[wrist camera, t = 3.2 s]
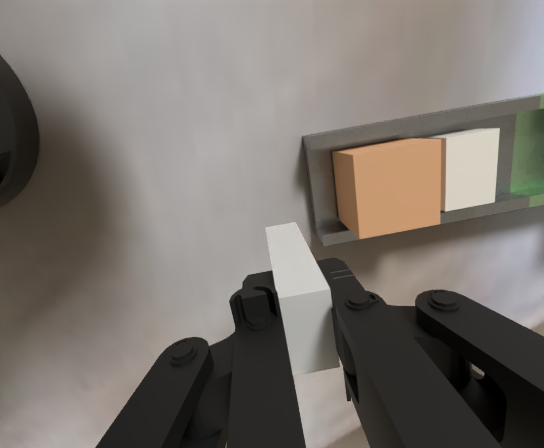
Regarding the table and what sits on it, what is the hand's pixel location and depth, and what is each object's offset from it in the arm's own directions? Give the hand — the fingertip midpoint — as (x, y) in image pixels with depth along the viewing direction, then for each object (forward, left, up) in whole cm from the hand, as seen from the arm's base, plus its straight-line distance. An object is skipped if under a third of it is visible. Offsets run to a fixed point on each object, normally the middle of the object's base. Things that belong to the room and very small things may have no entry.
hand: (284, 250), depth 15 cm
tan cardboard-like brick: (+9, 0, -11) cm, 14 cm away
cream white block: (+15, 0, -11) cm, 19 cm away
